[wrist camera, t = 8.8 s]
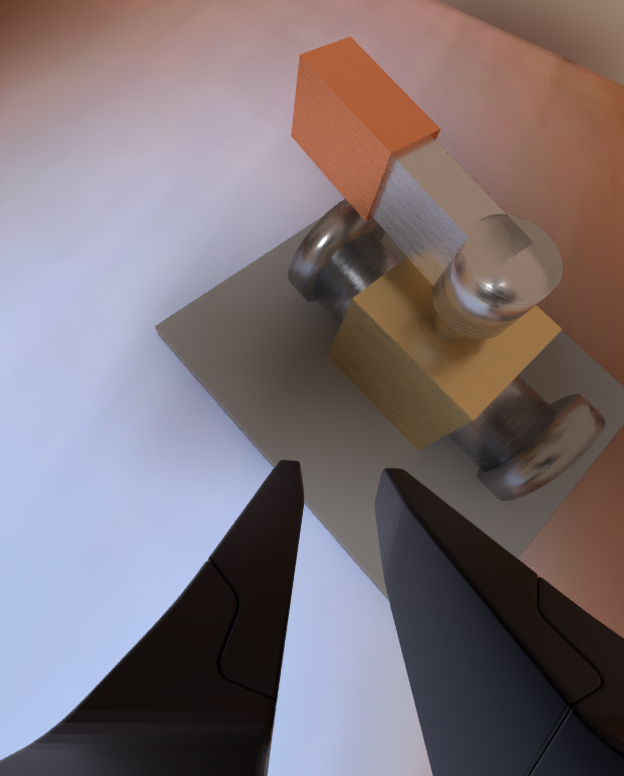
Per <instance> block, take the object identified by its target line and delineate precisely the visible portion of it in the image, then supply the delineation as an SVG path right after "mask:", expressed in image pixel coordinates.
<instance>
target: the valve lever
mask: <svg viewBox="0 0 624 776" xmlns="http://www.w3.org/2000/svg"><path fill="white" fill-rule="evenodd" d="M439 131H440V128H439V127H438V126H437V125H436V124H435V123H434V122H433V121H432V120H431V119H430V118H429V117H428V116H427V115H426V114H425V113H424V112H423V111H422V110H421V109H420V108H419V107H418V106H417V105H416V104H415V103H414V102H413V100H412V99H411V98H410V97H409V96H408V95H407V94H406V93H405V92H404V91H403V90H402V89H401V88H400V87H399V86H398V85H397V84H396V83H395V82H394V81H393V80H392V79H391V78H390V77H389V76H388V75H387V74H386V73H385V72H384V71H383V70H382V69H381V68H380V66H379V65H378V64H377V63H376V62H375V61H374V60H373V59H372V58H371V57H370V56H369V55H368V54H367V53H366V52H365V51H364V50H363V49H362V48H361V47H360V46H359V45H358V44H357V43H356V42H355V41H354V40H353V39H352V38H351V37H348V38H345V39H342V40H340V41H337V42H334V43H331V44H328V45H326V46H323V47H320V48H317V49H314V50H312V51H309V52H306V53H303V54H300V58H299V67H298V77H297V86H296V95H295V105H294V114H293V124H292V133H291V136H292V138H293V139H294V140H295V141H296V142H297V143H298V144H299V146H300V147H301V148H302V149H303V150H304V151H305V153H306V154H307V155H308V156H309V157H310V158H311V159H312V161H313V162H314V163H315V164H316V165H317V166H318V168H319V169H320V170H321V171H322V172H323V173H324V174H325V176H326V177H327V178H328V179H329V180H330V181H331V183H332V184H333V185H334V186H335V187H336V188H337V190H338V191H339V192H340V193H341V194H342V195H343V196H344V198H345V199H346V200H347V201H348V202H349V203H350V205H351V206H352V207H353V208H354V209H355V210H356V211H357V213H358V214H359V215H360V216H361V217H362V218H363V220H364V221H365V222H366V221H368V220H370V219H372V218H374V219H375V220H376V221H377V222H378V223H379V225H380V226H381V227H382V228H383V229H384V230H385V231H386V233H387V234H388V235H389V236H390V237H391V238H392V240H393V241H394V242H395V243H396V244H397V245H398V246H399V248H400V249H401V250H402V251H403V252H404V253H405V254H406V256H407V257H408V258H409V259H410V260H411V261H412V262H413V264H414V265H415V266H416V267H417V268H418V269H419V270H420V272H421V273H422V274H423V275H424V276H425V277H426V278H427V280H428V281H429V282H430V283H431V284H432V285H433V287H432V300H433V304H434V307H435V310H436V312H437V313H438V315H439V317H440V318H441V319H442V321H443V322H444V323H445V324H446V325H447V326H448V327H450V328H451V329H452V330H454V331H455V332H457V333H459V334H461V335H463V336H465V337H469V338H473V339H489V338H493V337H496V336H498V335H500V334H501V333H503V332H504V331H505V330H506V329H507V328H509V327H510V326H511V325H512V324H513V323H515V322H516V321H517V320H518V319H520V318H521V317H522V316H523V315H524V314H526V313H527V312H528V311H529V310H531V309H532V308H533V307H534V306H535V305H537V304H538V303H539V302H540V301H541V300H543V299H544V298H545V297H546V296H548V295H549V294H550V293H551V292H552V291H553V290H555V288H556V287H557V286H558V284H559V283H560V281H561V278H562V273H563V263H562V258H561V254H560V252H559V250H558V248H557V246H556V244H555V243H554V241H553V240H552V239H551V237H550V236H549V235H548V234H547V233H546V232H545V231H544V230H543V229H541V228H540V227H539V226H537V225H536V224H534V223H533V222H531V221H529V220H527V219H525V218H522V217H519V216H516V215H511V214H506V213H505V212H504V211H503V210H502V209H501V208H500V207H499V206H498V205H497V204H496V203H495V202H494V201H493V200H492V199H491V197H490V196H489V195H488V194H487V193H486V192H485V191H484V190H483V189H482V188H481V187H480V186H479V185H478V184H477V183H476V182H475V181H474V180H473V179H472V178H471V177H470V176H469V175H468V174H467V172H466V171H465V170H464V169H463V168H462V167H461V166H460V165H459V164H458V163H457V162H456V161H455V160H454V159H453V158H452V157H451V156H450V155H449V154H448V153H447V152H446V151H445V150H444V148H443V147H442V146H441V145H440V144H439V143H438V142H437V141H436V138H437V135H438V133H439Z"/></svg>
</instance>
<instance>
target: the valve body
mask: <svg viewBox="0 0 624 776" xmlns="http://www.w3.org/2000/svg"><path fill="white" fill-rule="evenodd" d="M385 232H386V231H385V230H384V229H383V228H382V227H381V226H380V225H379V223H378V222H377V221H376V220H375V219H374V218H372V219H370V220H368V221H366V222H365V221H364V220H363V218H362V217H361V216H360V215H359V214H358V213H357V211H356V210H355V209H354V208H353V207H352V206H351V205H350V203H349V202H348V201H347V200H346V199H344V200H343V201H341V202H340V203H338V204H337V205H336V206H334V207H333V208H332V209H331V210H330V211H328V212H327V213H326V214H325V215H324V216H323V217H322V218H321V219H320V220H319V221H318V222H317V223H316V224H315V226H314V227H313V228H312V229H311V230H310V232H309V233H308V234H307V235H306V237H305V238H304V240H303V241H302V242H301V244H300V246H299V247H298V249H297V251H296V252H295V254H294V256H293V259H292V261H291V263H290V266H289V271H288V280H289V282H290V284H291V285H292V286H293V287H294V288H295V289H296V290H297V291H298V292H299V293H300V294H301V295H302V296H303V297H304V298H305V299H306V300H307V301H309V302H314V301H318V302H319V303H320V304H321V305H322V306H323V307H324V308H325V309H326V310H327V311H328V312H329V313H330V314H331V315H332V316H333V317H334V318H335V319H336V320H337V321H338V323H339V324H340V325H341V326H340V329H339V331H338V333H337V336H336V338H335V340H334V343H333V345H332V347H331V350H330V352H329V354H328V356H329V357H330V358H331V360H332V361H333V362H334V363H335V364H336V365H337V366H338V367H339V368H340V369H341V370H342V371H343V372H344V373H345V374H346V375H347V376H348V378H349V379H350V380H351V381H352V382H353V383H354V384H355V385H356V386H357V387H358V388H359V389H360V390H361V391H362V392H363V393H364V394H365V396H366V397H367V398H368V399H369V400H370V401H371V402H372V403H373V404H374V405H375V406H376V407H377V408H378V409H379V410H380V411H381V412H382V413H383V415H384V416H385V417H386V418H387V419H388V420H389V421H390V422H391V423H392V424H393V425H394V426H395V427H396V428H397V429H398V430H399V431H400V433H401V434H402V435H403V436H404V437H405V438H406V439H407V440H408V441H409V442H410V443H411V444H412V445H413V446H414V447H415V448H416V449H417V451H418V450H420V449H422V448H424V447H425V446H427V445H429V444H431V443H433V442H435V441H437V440H438V439H440V438H442V437H444V436H446V435H448V436H449V437H450V438H451V439H452V440H453V441H454V442H455V444H456V445H457V446H458V447H459V448H460V449H461V450H462V451H463V452H464V453H465V454H466V455H467V456H468V457H469V458H470V459H471V460H472V461H473V462H474V463H475V464H476V465H477V466H478V467H479V470H478V472H477V478H478V479H479V480H480V481H481V482H482V483H483V484H484V485H485V486H486V488H487V489H488V490H489V491H490V492H491V493H492V494H493V495H494V496H495V497H496V498H497V499H498V500H500V501H510V500H515V499H518V498H521V497H523V496H526V495H528V494H530V493H532V492H534V491H536V490H538V489H539V488H541V487H543V486H545V485H546V484H548V483H549V482H551V481H552V480H554V479H555V478H557V477H558V476H560V475H561V474H562V473H563V472H565V471H566V470H567V469H569V468H570V467H571V466H572V465H573V464H575V463H576V462H577V461H578V460H579V459H580V458H581V457H582V456H583V455H584V454H585V453H586V452H587V451H588V450H589V449H590V448H591V446H592V445H593V444H594V443H595V442H596V440H597V439H598V438H599V436H600V434H601V433H602V431H603V429H604V426H605V418H604V416H603V415H602V414H601V413H600V412H599V411H598V410H596V409H595V408H594V407H593V406H592V405H591V404H590V403H589V402H588V401H587V400H586V399H585V398H584V397H583V396H582V395H580V394H573V395H569V396H566V397H564V398H561V399H559V400H557V401H555V402H553V403H551V404H549V403H548V402H547V401H545V400H544V399H543V398H542V397H541V396H540V395H539V394H538V393H537V392H536V391H535V390H534V389H533V388H532V387H531V386H530V385H529V384H528V383H527V382H526V381H525V380H524V379H523V378H522V377H521V376H520V375H519V373H520V372H521V371H522V370H523V369H524V368H525V367H526V366H527V365H528V364H529V363H530V362H531V361H532V360H533V359H534V358H535V357H536V356H537V355H538V354H539V353H540V352H541V351H542V350H543V349H544V348H545V347H546V346H547V345H548V344H549V343H550V342H551V340H552V339H553V338H554V337H555V336H556V335H557V334H558V333H559V332H560V331H561V330H562V328H560V327H559V326H558V325H557V324H556V323H555V322H554V321H553V320H552V319H551V318H550V317H549V316H547V315H546V314H545V313H544V312H543V311H542V310H541V309H540V308H539V307H538V306H537V305H535V306H534V307H533V308H532V309H531V310H529V311H528V312H527V313H526V314H524V315H523V316H522V317H521V318H520V319H518V320H517V321H516V322H515V323H513V324H512V325H511V326H510V327H509V328H507V329H506V330H505V331H504V332H503V333H501V334H500V335H498V336H496V337H493V338H489V339H473V338H469V337H465V336H463V335H461V334H459V333H457V332H455V331H454V330H452V329H451V328H450V327H448V326H447V325H446V324H445V323H444V322H443V321H442V319H441V318H440V317H439V315H438V313H437V312H436V310H435V307H434V304H433V300H432V287H433V285H432V284H431V283H430V282H429V281H428V280H427V278H426V277H425V276H424V275H423V274H422V273H421V272H420V270H419V269H418V268H417V267H416V266H415V265H414V264H413V262H412V261H411V260H410V259H409V258H408V257H406V258H405V259H403V260H402V261H401V260H400V259H399V258H398V257H397V256H396V255H395V254H393V253H392V252H391V251H390V250H389V249H388V248H387V247H386V246H385V245H384V244H383V243H382V242H381V239H382V238H383V236H384V234H385Z"/></svg>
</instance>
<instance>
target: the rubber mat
mask: <svg viewBox="0 0 624 776" xmlns="http://www.w3.org/2000/svg"><path fill="white" fill-rule="evenodd" d="M320 219H321V218H320ZM320 219H319V220H320ZM319 220H317V221H315V222H314V223H312V224H311V225H309V226H308V227H306V228H305V229H303V230H302V231H300V232H299V233H297V234H296V235H294V236H293V237H291V238H289V239H288V240H286V241H285V242H283V243H282V244H280V245H279V246H277V247H276V248H274V249H273V250H271V251H270V252H268V253H267V254H265V255H264V256H262V257H260V258H259V259H257V260H256V261H254V262H253V263H251V264H250V265H248V266H247V267H245V268H244V269H242V270H241V271H239V272H238V273H236V274H234V275H233V276H231V277H230V278H228V279H227V280H225V281H224V282H222V283H221V284H219V285H218V286H216V287H215V288H213V289H212V290H210V291H208V292H207V293H205V294H204V295H202V296H201V297H199V298H198V299H196V300H195V301H193V302H192V303H190V304H189V305H187V306H186V307H184V308H182V309H181V310H179V311H178V312H176V313H175V314H173V315H172V316H170V317H169V318H167V319H166V320H164V321H163V322H161V323H160V324H158V325H156V326H155V328H156V330H157V332H158V335H159V336H160V337H161V338H162V339H163V341H164V342H165V343H166V344H167V345H168V346H169V347H170V349H171V350H172V351H173V352H174V353H175V354H176V356H177V357H178V358H179V359H180V360H181V361H182V363H183V364H184V365H185V366H186V367H187V368H188V369H189V371H190V372H191V373H192V374H193V375H194V376H195V378H196V379H197V380H198V381H199V382H200V383H201V384H202V386H203V387H204V388H205V389H206V390H207V391H208V393H209V394H210V395H211V396H212V397H213V398H214V399H215V401H216V402H217V403H218V404H219V405H220V406H221V408H222V409H223V410H224V411H225V412H226V413H227V414H228V416H229V417H230V418H231V419H232V420H233V421H234V423H235V424H236V425H237V426H238V427H239V428H240V429H241V431H242V432H243V433H244V434H245V435H246V436H247V438H248V439H249V440H250V441H251V442H252V443H253V445H254V446H255V447H256V448H257V449H258V450H259V451H260V453H261V454H262V455H263V456H264V457H265V458H266V460H267V461H268V462H269V463H270V464H271V465H272V466H273V468H274V467H275V466H276V465H277V463H278V462H279V461H280V460H294V461H299V462H300V465H301V472H302V480H303V487H304V503H305V505H306V506H307V507H308V508H309V509H310V510H311V512H312V513H313V514H314V515H315V516H316V517H317V518H318V520H319V521H320V522H321V523H322V524H323V525H324V527H325V528H326V529H327V530H328V531H329V532H330V533H331V535H332V536H333V537H334V538H335V539H336V540H337V542H338V543H339V544H340V545H341V546H342V547H343V548H344V550H345V551H346V552H347V553H348V554H349V555H350V557H351V558H352V559H353V560H354V561H355V562H356V563H357V565H358V566H359V567H360V568H361V569H362V570H363V572H364V573H365V574H366V575H367V576H368V577H369V578H370V580H371V581H372V582H373V583H374V584H375V585H376V587H377V588H378V589H379V590H380V591H381V592H382V594H383V595H384V596H385V597H386V598H387V599H388V600H389V598H388V594H387V590H386V586H385V581H384V576H383V570H382V563H381V555H380V548H379V540H378V532H377V525H376V517H375V498H376V494H377V489H378V485H379V481H380V477H381V473H382V471H383V469H385V468H400V469H404V470H405V471H407V472H408V473H409V474H411V475H412V476H413V477H414V478H416V479H417V480H418V481H419V482H421V483H422V484H423V485H425V486H426V487H427V488H428V489H430V490H431V491H432V492H433V493H435V494H436V495H437V496H439V497H440V498H441V499H442V500H444V501H445V502H446V503H447V504H449V505H450V506H451V507H453V508H454V509H455V510H456V511H458V512H459V513H460V514H461V515H463V516H464V517H465V518H467V519H468V520H469V521H470V522H472V523H473V524H474V525H475V526H477V527H478V528H479V529H481V530H482V531H483V532H484V533H486V534H487V535H488V536H489V537H491V538H492V539H493V540H495V541H496V542H497V543H498V544H500V545H501V546H502V547H503V548H505V549H506V550H507V551H509V552H510V553H511V554H512V555H514V556H515V557H516V558H517V559H518V558H519V556H520V555H521V554H522V553H523V551H524V550H525V549H526V548H527V546H528V545H529V544H530V543H531V541H532V540H533V539H534V537H535V536H536V535H537V534H538V532H539V531H540V530H541V529H542V527H543V526H544V525H545V523H546V522H547V521H548V520H549V518H550V517H551V516H552V515H553V513H554V512H555V511H556V510H557V508H558V507H559V506H560V504H561V503H562V502H563V501H564V499H565V498H566V497H567V496H568V494H569V493H570V492H571V491H572V489H573V488H574V487H575V485H576V484H577V483H578V482H579V480H580V479H581V478H582V477H583V475H584V474H585V473H586V472H587V470H588V469H589V468H590V466H591V465H592V464H593V463H594V461H595V460H596V459H597V458H598V456H599V455H600V454H601V452H602V451H603V450H604V449H605V447H606V446H607V445H608V444H609V442H610V441H611V440H612V439H613V437H614V436H615V435H616V433H617V432H618V431H619V430H620V428H621V427H622V426H623V425H624V387H623V386H622V385H621V384H620V383H619V382H618V381H617V380H616V379H614V378H613V377H612V376H611V375H610V374H609V373H608V372H607V371H606V370H605V369H604V368H603V367H602V366H600V365H599V364H598V363H597V362H596V361H595V360H594V359H593V358H592V357H591V356H590V355H589V354H587V353H586V352H585V351H584V350H583V349H582V348H581V347H580V346H579V345H578V344H577V343H576V342H574V341H573V340H572V339H571V338H570V337H569V336H568V335H567V334H566V333H565V332H564V331H563V330H561V331H560V332H559V333H558V334H557V335H556V336H555V337H554V338H553V339H552V340H551V342H550V343H549V344H548V345H547V346H546V347H545V348H544V349H543V350H542V351H541V352H540V353H539V354H538V355H537V356H536V357H535V358H534V359H533V360H532V361H531V362H530V363H529V364H528V365H527V366H526V367H525V368H524V369H523V370H522V371H521V372H520V373H519V375H520V376H521V377H522V378H523V379H524V380H525V381H526V382H527V383H528V384H529V385H530V386H531V387H532V388H533V389H534V390H535V391H536V392H537V393H538V394H539V395H540V396H541V397H542V398H543V399H544V400H545V401H547V402H548V403H549V404H551V403H553V402H555V401H557V400H559V399H561V398H564V397H566V396H569V395H573V394H580V395H582V396H583V397H584V398H585V399H586V400H587V401H588V402H589V403H590V404H591V405H592V406H593V407H594V408H595V409H596V410H598V411H599V412H600V413H601V414H602V415H603V416H604V418H605V426H604V429H603V431H602V433H601V434H600V436H599V438H598V439H597V440H596V442H595V443H594V444H593V445H592V446H591V448H590V449H589V450H588V451H587V452H586V453H585V454H584V455H583V456H582V457H581V458H580V459H579V460H578V461H577V462H576V463H575V464H573V465H572V466H571V467H570V468H569V469H567V470H566V471H565V472H563V473H562V474H561V475H560V476H558V477H557V478H555V479H554V480H552V481H551V482H549V483H548V484H546V485H545V486H543V487H541V488H539V489H538V490H536V491H534V492H532V493H530V494H528V495H526V496H523V497H521V498H518V499H515V500H510V501H500V500H498V499H497V498H496V497H495V496H494V495H493V494H492V493H491V492H490V491H489V490H488V489H487V488H486V486H485V485H484V484H483V483H482V482H481V481H480V480H479V479H478V478H477V472H478V470H479V467H478V466H477V465H476V464H475V463H474V462H473V461H472V460H471V459H470V458H469V457H468V456H467V455H466V454H465V453H464V452H463V451H462V450H461V449H460V448H459V447H458V446H457V445H456V444H455V442H454V441H453V440H452V439H451V438H450V437H449V436H448V435H446V436H444V437H442V438H440V439H438V440H437V441H435V442H433V443H431V444H429V445H427V446H425V447H424V448H422V449H420V450H418V451H417V449H416V448H415V447H414V446H413V445H412V444H411V443H410V442H409V441H408V440H407V439H406V438H405V437H404V436H403V435H402V434H401V433H400V431H399V430H398V429H397V428H396V427H395V426H394V425H393V424H392V423H391V422H390V421H389V420H388V419H387V418H386V417H385V416H384V415H383V413H382V412H381V411H380V410H379V409H378V408H377V407H376V406H375V405H374V404H373V403H372V402H371V401H370V400H369V399H368V398H367V397H366V396H365V394H364V393H363V392H362V391H361V390H360V389H359V388H358V387H357V386H356V385H355V384H354V383H353V382H352V381H351V380H350V379H349V378H348V376H347V375H346V374H345V373H344V372H343V371H342V370H341V369H340V368H339V367H338V366H337V365H336V364H335V363H334V362H333V361H332V360H331V358H330V357H329V356H328V354H329V352H330V350H331V347H332V345H333V343H334V340H335V338H336V336H337V333H338V331H339V329H340V326H341V325H340V324H339V323H338V321H337V320H336V319H335V318H334V317H333V316H332V315H331V314H330V313H329V312H328V311H327V310H326V309H325V308H324V307H323V306H322V305H321V304H320V303H319V302H318V301H314V302H309V301H307V300H306V299H305V298H304V297H303V296H302V295H301V294H300V293H299V292H298V291H297V290H296V289H295V288H294V287H293V286H292V285H291V284H290V282H289V280H288V271H289V266H290V263H291V261H292V259H293V256H294V254H295V252H296V251H297V249H298V247H299V246H300V244H301V242H302V241H303V240H304V238H305V237H306V235H307V234H308V233H309V232H310V230H311V229H312V228H313V227H314V226H315V224H316V223H317V222H318V221H319ZM381 242H382V243H383V244H384V245H385V246H386V247H387V248H388V249H389V250H390V251H391V252H392V253H393V254H395V255H396V256H397V257H398V258H399V259H400V260H401V261H402V260H403V259H405V258H406V257H407V256H406V254H405V253H404V252H403V251H402V250H401V249H400V248H399V246H398V245H397V244H396V243H395V242H394V241H393V240H392V238H391V237H390V236H389V235H388V234H387V233H386V232H385V234H384V236H383V238H382V239H381Z"/></svg>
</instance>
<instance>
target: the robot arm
mask: <svg viewBox="0 0 624 776" xmlns="http://www.w3.org/2000/svg"><path fill="white" fill-rule="evenodd" d="M303 508H304V487H303V480H302V472H301V465H300V462H299V461H294V460H280V461H279V462H278V463H277V465H276V466H275V467H274V469H273V470H272V471H271V473H270V474H269V476H268V477H267V478H266V480H265V481H264V482H263V484H262V485H261V487H260V488H259V489H258V491H257V492H256V493H255V495H254V496H253V498H252V499H251V500H250V502H249V503H248V504H247V506H246V507H245V509H244V510H243V511H242V513H241V514H240V515H239V517H238V518H237V520H236V521H235V522H234V524H233V525H232V527H231V528H230V529H229V531H228V532H227V533H226V535H225V536H224V538H223V539H222V540H221V542H220V543H219V544H218V546H217V547H216V549H215V550H214V551H213V553H212V554H211V555H210V557H209V558H208V561H206V562H205V563H204V565H203V566H202V567H201V569H200V570H199V572H198V573H197V574H196V576H195V577H194V578H193V580H192V581H191V582H190V583H189V585H188V586H187V587H186V588H185V590H184V591H183V592H182V594H181V595H180V596H179V597H178V599H177V600H176V601H175V602H174V603H173V604H172V606H171V607H170V608H169V609H168V610H167V611H166V612H165V613H164V614H163V616H162V617H161V618H160V619H159V620H158V621H157V622H156V623H155V625H154V626H153V627H152V628H151V629H150V630H149V631H148V632H147V633H146V634H145V635H144V636H143V637H142V638H141V639H140V640H139V642H138V643H137V644H136V645H135V646H134V647H133V648H132V649H131V650H130V651H129V652H128V653H127V654H126V655H125V656H124V657H123V658H122V659H121V661H120V662H119V663H118V664H117V665H116V666H115V667H114V668H113V669H112V670H111V671H110V672H109V673H108V674H107V675H106V676H105V677H104V678H103V680H102V681H101V682H100V683H99V684H98V685H97V686H96V687H95V688H94V689H93V690H92V691H91V692H90V693H89V694H88V695H87V696H86V697H85V698H84V700H83V701H82V702H81V703H80V704H79V705H78V706H77V707H76V708H75V709H74V710H73V711H72V712H70V713H69V714H68V715H67V716H66V717H65V718H64V719H63V720H62V721H60V722H59V723H58V724H57V725H56V726H54V727H53V728H52V729H51V730H49V731H48V732H47V733H46V734H44V735H43V736H41V737H40V738H39V739H37V740H36V741H34V742H33V743H31V744H30V745H28V746H26V747H25V748H23V749H21V750H19V751H17V752H15V753H14V754H12V755H10V756H8V757H6V758H4V759H2V760H0V776H267V774H268V766H269V757H270V749H271V742H272V734H273V727H274V719H275V712H276V704H277V697H278V690H279V683H280V676H281V668H282V661H283V654H284V646H285V639H286V632H287V625H288V617H289V610H290V603H291V595H292V588H293V581H294V574H295V566H296V559H297V552H298V544H299V537H300V530H301V523H302V515H303ZM375 517H376V525H377V532H378V540H379V548H380V555H381V563H382V570H383V576H384V581H385V586H386V590H387V594H388V598H389V602H390V606H391V610H392V614H393V618H394V622H395V626H396V630H397V634H398V638H399V642H400V646H401V650H402V654H403V658H404V662H405V666H406V670H407V674H408V678H409V682H410V686H411V690H412V694H413V698H414V702H415V706H416V710H417V714H418V718H419V722H420V726H421V730H422V734H423V738H424V742H425V746H426V750H427V754H428V758H429V762H430V766H431V770H432V774H433V776H624V639H623V638H622V637H621V636H619V635H618V634H616V633H615V632H614V631H612V630H611V629H609V628H608V627H607V626H605V625H604V624H602V623H601V622H600V621H598V620H597V619H595V618H594V617H593V616H591V615H590V614H588V613H587V612H586V611H585V610H583V609H582V608H581V607H579V606H578V605H577V604H575V603H574V602H573V601H571V600H570V599H569V598H567V597H566V596H565V595H563V594H562V593H561V592H560V591H558V590H557V589H556V588H554V587H553V586H552V585H551V584H549V583H548V582H547V581H546V580H544V579H543V578H542V577H539V578H538V575H537V574H536V573H535V572H534V571H533V570H531V569H530V568H529V567H528V566H526V565H525V564H524V563H523V562H521V561H520V560H519V559H517V558H516V557H515V556H514V555H512V554H511V553H510V552H509V551H507V550H506V549H505V548H503V547H502V546H501V545H500V544H498V543H497V542H496V541H495V540H493V539H492V538H491V537H489V536H488V535H487V534H486V533H484V532H483V531H482V530H481V529H479V528H478V527H477V526H475V525H474V524H473V523H472V522H470V521H469V520H468V519H467V518H465V517H464V516H463V515H461V514H460V513H459V512H458V511H456V510H455V509H454V508H453V507H451V506H450V505H449V504H447V503H446V502H445V501H444V500H442V499H441V498H440V497H439V496H437V495H436V494H435V493H433V492H432V491H431V490H430V489H428V488H427V487H426V486H425V485H423V484H422V483H421V482H419V481H418V480H417V479H416V478H414V477H413V476H412V475H411V474H409V473H408V472H407V471H405V470H404V469H400V468H385V469H383V471H382V473H381V477H380V481H379V485H378V489H377V494H376V498H375Z"/></svg>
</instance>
